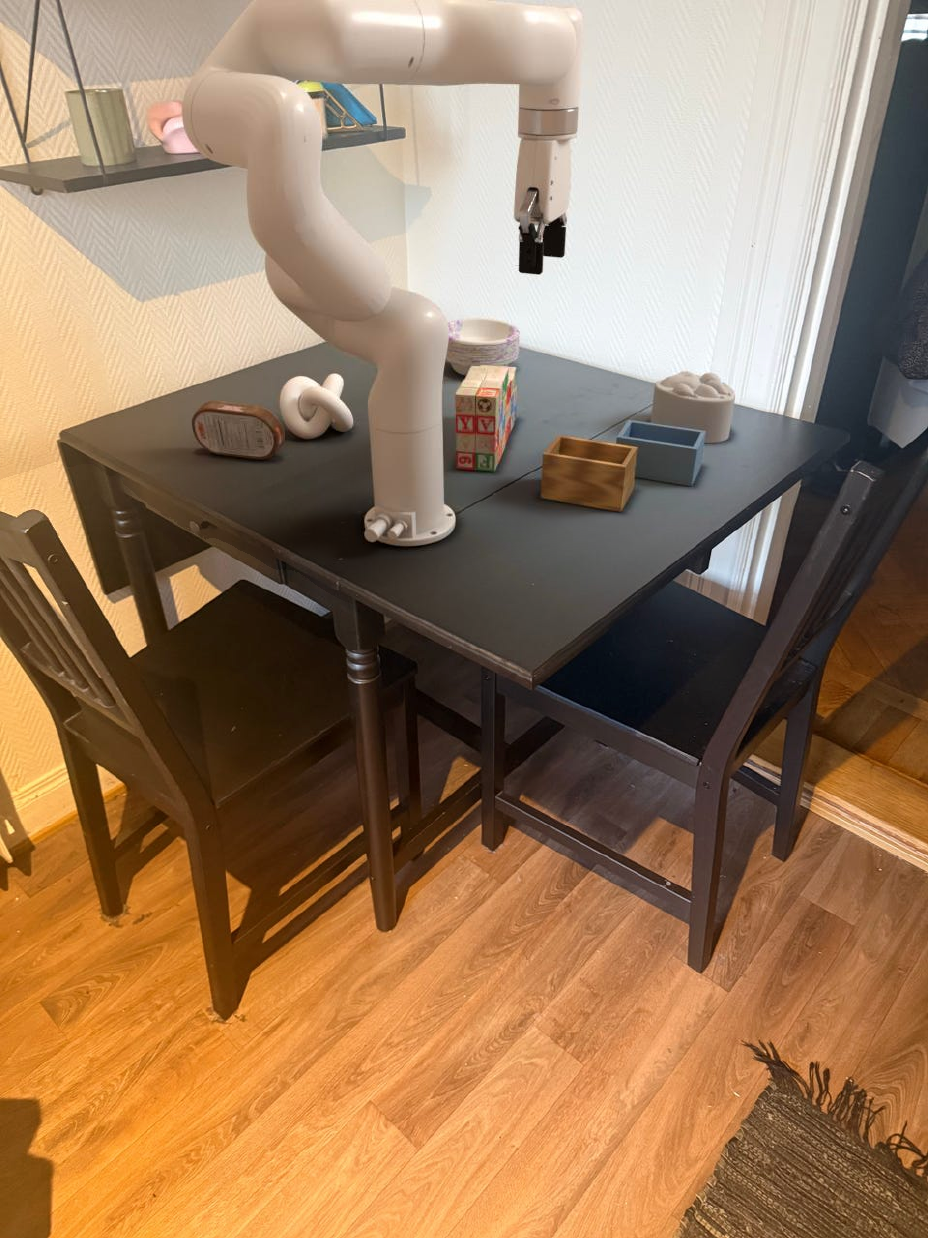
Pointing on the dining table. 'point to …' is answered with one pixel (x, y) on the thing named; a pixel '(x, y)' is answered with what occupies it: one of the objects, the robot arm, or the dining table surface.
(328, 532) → the dining table surface
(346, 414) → the white knot sculpture
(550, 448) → the wooden basket
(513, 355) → the paper bowls
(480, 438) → the stack of blocks
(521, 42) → the robot arm
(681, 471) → the blue basket
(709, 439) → the lumpy-topped squat cylinder
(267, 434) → the tin
